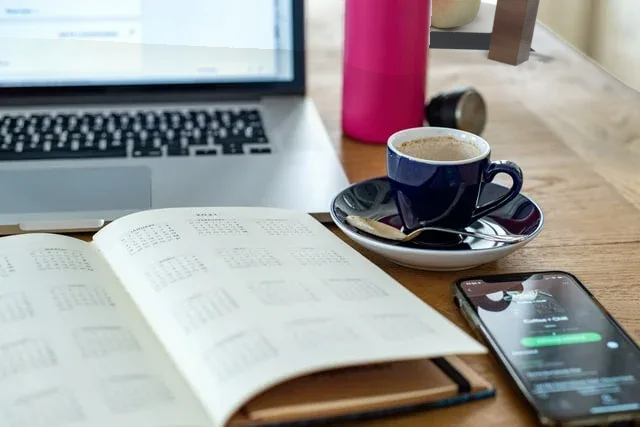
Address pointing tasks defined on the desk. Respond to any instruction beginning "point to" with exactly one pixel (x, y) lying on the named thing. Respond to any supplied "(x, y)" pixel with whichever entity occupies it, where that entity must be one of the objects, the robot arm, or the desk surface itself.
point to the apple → (453, 12)
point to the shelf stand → (513, 31)
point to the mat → (460, 40)
